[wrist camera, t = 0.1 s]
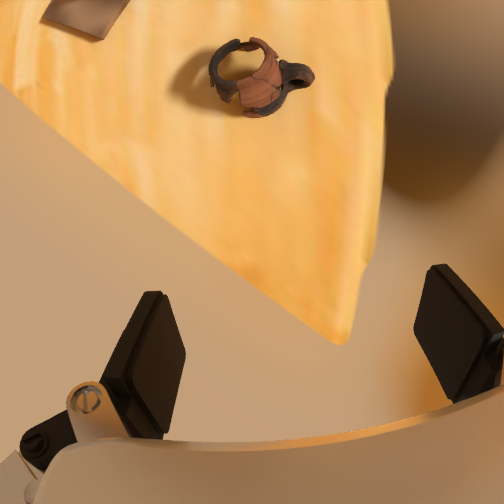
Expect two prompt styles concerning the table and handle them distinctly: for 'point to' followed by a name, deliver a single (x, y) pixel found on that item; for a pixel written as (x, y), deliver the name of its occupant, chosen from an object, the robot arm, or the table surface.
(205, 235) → the table surface
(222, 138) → the table surface
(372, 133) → the table surface
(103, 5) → the post stand
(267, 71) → the pottery mug
